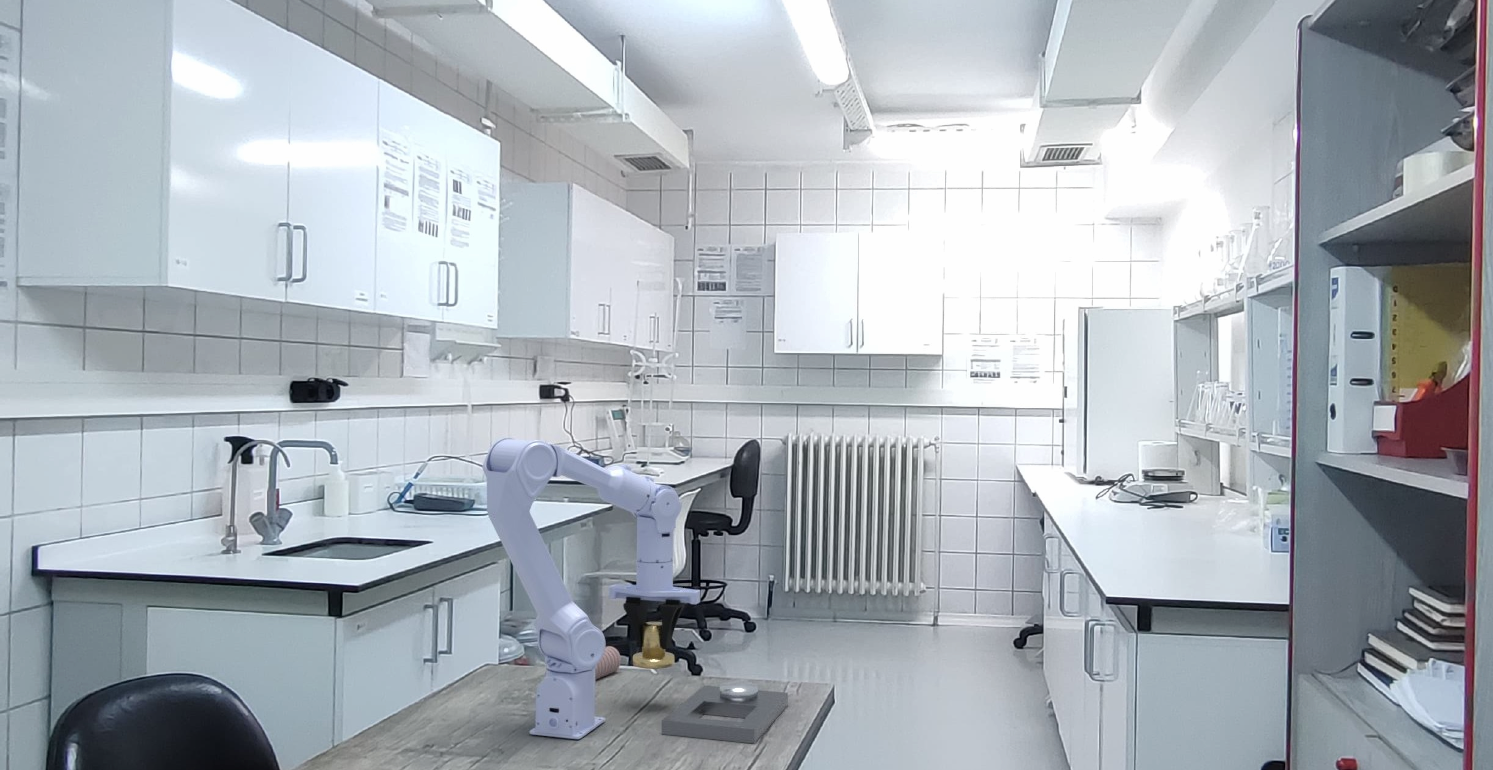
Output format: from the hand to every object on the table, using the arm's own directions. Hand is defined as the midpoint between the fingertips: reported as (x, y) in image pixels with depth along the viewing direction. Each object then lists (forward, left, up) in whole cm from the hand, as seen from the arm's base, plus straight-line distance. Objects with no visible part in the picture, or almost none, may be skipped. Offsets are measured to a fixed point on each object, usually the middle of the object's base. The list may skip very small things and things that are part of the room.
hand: (653, 646), depth 173 cm
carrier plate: (-2, -13, -10) cm, 16 cm away
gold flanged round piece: (0, 0, -3) cm, 3 cm away
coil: (+11, +17, -10) cm, 23 cm away
